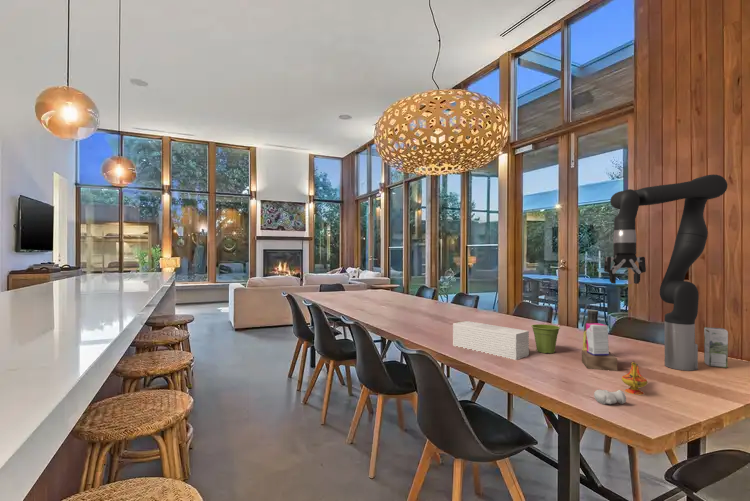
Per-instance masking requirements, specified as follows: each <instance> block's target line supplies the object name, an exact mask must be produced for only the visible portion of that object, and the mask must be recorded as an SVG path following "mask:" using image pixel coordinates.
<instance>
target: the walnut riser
mask: <svg viewBox="0 0 750 501" xmlns="http://www.w3.org/2000/svg"><path fill="white" fill-rule="evenodd" d="M581 363H582V364H583V366H584V367H585V368H586V369H587V370H599V371H608V370H609V371H608V372H618V358H617V357H616V356H615V355H614V354H613V353H612V352H610V351H609V355H605V356H593V355H592V354H590V353H588V352H587V351H586V350H583V349H581Z"/></svg>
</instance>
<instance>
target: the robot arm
mask: <svg viewBox="0 0 750 501" xmlns="http://www.w3.org/2000/svg"><path fill="white" fill-rule="evenodd" d="M727 189H728V182H727V180H726V178H725V177H723V176H722V175H720V174H707V175H702V176H699V177H696V178H694V179H692V180H688V181H684V182H676V183H669V184H660V185H653V186H652V185H651V186H646V187H643V188H637V189H624V190H621V191H616V192H615V193H614V194H613V195H612V196H611V198H610V205H611V207H613V208H614V209H617V210H619V211H618V212H619V213H618V214H617V215H616V216H615V217H614V220H613V242H612V243H613V248H612V249H613V250H612V253H613V256H605V257H604V268H603V271H604V273H608V274H609V282H610V283H611V284H616V282H617V281H616V280H617V278H616V275H617V274H616V272H617V271H618V270H620V269H630V270H631V271H632V272H633V273H634V274H633V284H636V285H637V284H638V285H639V284H640V282H641V274H642V273H646V272H647V268H646V267H647V266H646V257H645V256H638V257H637V231H636V219H637V215H638V211H639V209H640V208H639V207H642V206H643V207H644V206H652V205H659V204H666V203H670V202H674V201H680V200H684V204H683V210H682V213H681V219H680V223H679V227H678V230H677V234H676V238H675V241H674V246H673V250H672V253H671V255H670V256H671V257H670V260H669V262H668V263H669V264H668V266H667V269H666V271H665V274H664V277H663V278H662V282H661V284H660V287H659V296H660V299H661V300H662V301H663V302H665V303H666V304H672V305H673V308H672V311H671V312H668V313H665V314H664V322H663V323H664V360H663V361H664V366H665V367H667V368H671V369H674V370H677V371H678V370H679V371H688V372H690V371H695V370H699V350H698V348H699V347H698V346H699V345H698V344H697V343H696V333H695V332H696V319H697V317H698V313H699V299H700V298H699V296H700V295H699V290H698V287H697V285H695V284H694V283H693V282H690V281H685V278H686V276H687V272H688V271H689V269H690V268H691V267H692V265H693V264H694V263H695V262H696V261H697V259H699V257H701V255H702V253H703V252H704V250H705V248H706V243H707V241H708V240H707V239H708V234H709V232H708V227H707V224H706V221H705V217H704V212H705V209H706V208H705V207H706V204H707V202H708V200H713V199H716V198H719V197H720V196H721V197H722V195H724V194H725V193H726V192H727ZM612 262H613V265H612ZM636 262H637V264H638V265H637V264H636Z"/></svg>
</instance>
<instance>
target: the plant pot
mask: <svg viewBox="0 0 750 501" xmlns="http://www.w3.org/2000/svg"><path fill="white" fill-rule="evenodd" d="M530 326H531V327H532V332H533V334H534V340H535V347H536V351H537V352H538V353H542V354H547V353H548V354H554V353H555V352H556V348H557V347H556V345H557V339H558V334H559V331H560V329H561V327H560V326H559V325H552V324H544V323H543V324H539V323H538V324H531V325H530Z"/></svg>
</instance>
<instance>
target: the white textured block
mask: <svg viewBox="0 0 750 501" xmlns="http://www.w3.org/2000/svg"><path fill="white" fill-rule="evenodd" d="M529 333H530V331H529V330H526V329H525V330H524V329H520V328H513V327H507V326H500V325H495V324H494V325H493V324H487V323H482V322H476V321H474V322H473V321H469V320H465V321H460V322H459V321H458V322H453V323H452V346H453V347H456V346H458V347H457V348H460V347H463V348H462V349H465V348H467V349H466V350H469V349H472V350H471V351H474V350H476V351H475V352H478V351H481V352H480V353H483V352H485V353H484V354H487V353H489V354H488V355H491V354H493V355H492V356H496V355H497V357H500V356H502V357H501V358H505V357H506V359H509V358H510V360H514V361H518V360H521V359H522V358H526V357H529V354H530V338H529V337H530V336H529V335H530V334H529Z"/></svg>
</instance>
